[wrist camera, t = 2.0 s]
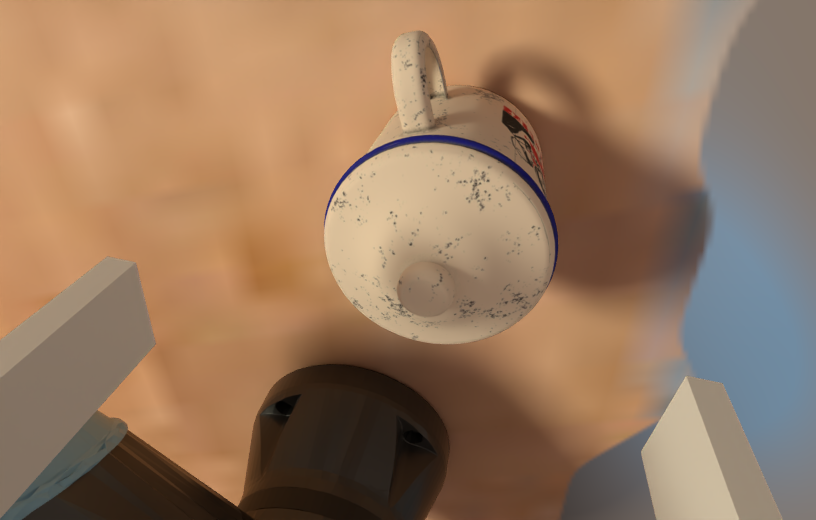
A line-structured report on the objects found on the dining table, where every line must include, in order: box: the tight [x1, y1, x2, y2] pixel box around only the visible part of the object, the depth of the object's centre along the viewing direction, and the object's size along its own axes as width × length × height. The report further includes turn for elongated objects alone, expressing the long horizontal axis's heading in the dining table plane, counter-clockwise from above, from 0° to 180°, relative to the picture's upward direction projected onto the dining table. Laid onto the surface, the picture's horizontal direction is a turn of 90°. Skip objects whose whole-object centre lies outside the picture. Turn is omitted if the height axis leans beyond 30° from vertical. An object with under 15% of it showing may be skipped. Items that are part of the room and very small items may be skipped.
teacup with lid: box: [324, 31, 558, 344], centre depth 21 cm, size 12×9×12 cm
